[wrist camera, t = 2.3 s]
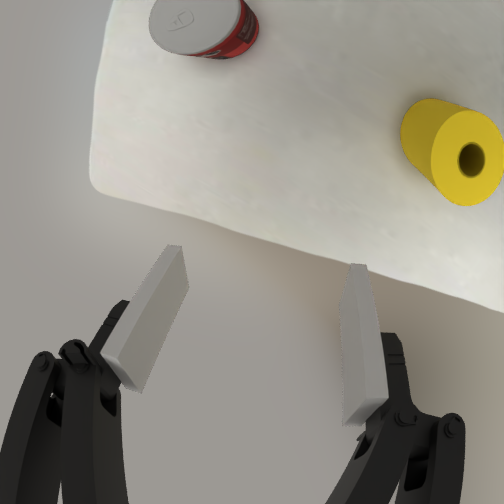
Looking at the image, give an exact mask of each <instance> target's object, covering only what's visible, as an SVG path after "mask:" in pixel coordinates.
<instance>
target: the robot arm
mask: <svg viewBox="0 0 504 504" xmlns="http://www.w3.org/2000/svg"><path fill="white" fill-rule="evenodd" d="M188 289H189V284H188V279H187V274H186V268H185V263H184V257H183V252H182V246H175V245H167V246H166V248H165V249H164V251H163V252H162V254H161V255H160V257H159V258H158V260H157V261H156V262H155V264H154V265H153V267H152V268H151V270H150V272H149V273H148V275H147V276H146V278H145V279H144V281H143V282H142V284H141V285H140V287H139V288H138V290H137V292H136V293H135V295H134V296H133V298H132V300H131V301H126V300H121V301H120V302H119V303H118V304H116V305H115V306H114V307H113V308H112V310H111V311H110V313H109V315H108V317H107V318H106V319H105V321H104V323H103V325H102V326H101V327H100V329H99V331H98V332H97V334H96V336H95V337H94V339H93V340H92V342H91V344H90V345H89V347H87V346H86V344H85V343H84V342H83V341H81V340H77V339H73V340H70V341H68V342H66V343H65V344H64V345H63V346H62V347H61V348H60V351H59V353H58V354H59V355H60V356H61V358H62V359H56V358H55V357H54V356H53V355H52V353H50V352H48V351H43V352H40V353H38V354H37V355H36V356H35V357H34V359H33V361H32V363H31V365H30V367H29V369H28V372H27V374H26V376H25V379H24V381H23V384H22V386H21V389H20V391H19V394H18V397H17V399H16V402H15V405H14V408H13V411H12V414H11V417H10V420H9V423H8V426H7V430H6V433H5V437H4V440H3V444H2V448H1V452H0V504H57V502H58V495H59V488H60V483H61V486H62V499H63V504H129V503H128V496H127V489H126V481H125V472H124V462H123V448H122V430H121V393H120V390H119V389H118V388H119V386H120V384H121V383H122V384H123V385H124V387H125V388H126V389H129V390H132V391H135V392H138V393H142V391H143V389H144V386H145V384H146V382H147V379H148V377H149V375H150V372H151V370H152V368H153V366H154V363H155V361H156V359H157V356H158V354H159V352H160V350H161V347H162V345H163V343H164V341H165V339H166V336H167V334H168V332H169V330H170V328H171V325H172V323H173V321H174V319H175V317H176V315H177V312H178V310H179V308H180V306H181V304H182V302H183V300H184V298H185V296H186V293H187V291H188ZM339 310H340V326H341V344H342V376H343V377H342V378H343V416H342V417H343V418H342V419H343V420H342V426H362V424H364V423H365V422H366V431H364V432H363V433H362V434H361V435H360V436H359V437H358V438H357V441H359V440H360V441H359V443H358V445H357V447H356V450H355V452H354V454H353V456H352V458H351V459H350V461H349V463H348V466H347V467H346V469H345V471H344V473H343V475H342V476H341V478H340V480H339V482H338V483H337V485H336V487H335V489H334V490H333V492H332V494H331V495H330V497H329V498H328V500H327V502H326V503H325V504H388V503H389V502H390V499H391V497H392V495H393V493H394V491H395V489H396V486H397V484H398V482H399V486H398V492H397V496H396V501H395V504H459V503H460V497H461V490H462V482H463V472H464V459H465V423H464V421H463V419H462V418H461V417H460V416H459V415H458V414H455V413H449V414H446V415H444V416H443V417H442V418H440V417H435V416H432V415H428V414H425V413H422V412H420V411H419V410H418V409H417V407H416V406H415V405H414V404H413V402H412V400H411V395H410V389H409V381H408V376H407V370H406V366H405V358H404V353H403V347H402V343H401V342H400V340H399V339H398V337H397V335H396V334H395V333H382V332H380V328H379V323H378V317H377V312H376V306H375V301H374V297H373V292H372V287H371V283H370V278H369V274H368V270H367V265H364V264H354V263H351V264H350V269H349V272H348V276H347V279H346V283H345V286H344V290H343V293H342V297H341V300H340V303H339ZM51 393H53V395H52V397H50V396H51ZM399 480H400V481H399Z"/></svg>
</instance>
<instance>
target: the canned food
mask: <svg viewBox="0 0 504 504" xmlns="http://www.w3.org/2000/svg"><path fill="white" fill-rule="evenodd" d="M258 28H259V25H258V20H257V18H256V16H255V14H254V13H253V11H252V10H251V9H250V8H249V6H248V5H247V4H246V3H245V2H244V0H157V1H156V2H155V4H154V6H153V8H152V10H151V13H150V17H149V31H150V34H151V36H152V39H153V40H154V41H155V43H156V44H157V45H158V46H160V47H161V48H162V49H164V50H166V51H168V52H171V53H175V54H179V55H187V56H196V57H205V58H212V59H228V58H232V57H235V56H237V55H239V54H241V53H243V52H244V51H246V50H247V49H248V48H249V47H250V46H251V45H252V44H253V42H254V41H255V39H256V37H257V34H258Z"/></svg>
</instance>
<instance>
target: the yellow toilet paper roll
mask: <svg viewBox="0 0 504 504" xmlns="http://www.w3.org/2000/svg"><path fill="white" fill-rule="evenodd" d="M400 138H401V144H402V148H403V151H404V153H405V155H406V157H407V158H408V160H409V161H410V162H411V163H412V164H413V165H414V166H415V167H416V168H417V169H418V170H419V171H420V172H421V173H422V174H423V175H424V176H425V177H426V178H427V179H428V180H429V181H430V182H431V183H432V184H433V185H434V186H435V187H436V188H437V189H438V190H439V192H440V193H441V194H442V195H443V196H444V197H445V198H446V199H448V200H449V201H450V202H452V203H454V204H457V205H461V206H471V205H476V204H478V203H480V202H482V201H484V200H485V199H487V198H488V197H489V196H490V195H491V194H492V193H493V192H494V191H495V189H496V188H497V186H498V185H499V183H500V181H501V178H502V176H503V172H504V142H503V138H502V136H501V133H500V131H499V130H498V128H497V126H496V125H495V124H494V123H493V121H492V120H491V119H489V118H488V117H487V116H485V115H484V114H482V113H479V112H477V111H474V110H471V109H468V108H465V107H462V106H459V105H456V104H452V103H449V102H446V101H442V100H439V99H424V100H421V101H419V102H417V103H415V104H414V105H413V106H411V107H410V109H409V110H408V111H407V113H406V114H405V116H404V118H403V121H402V124H401V131H400Z"/></svg>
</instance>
